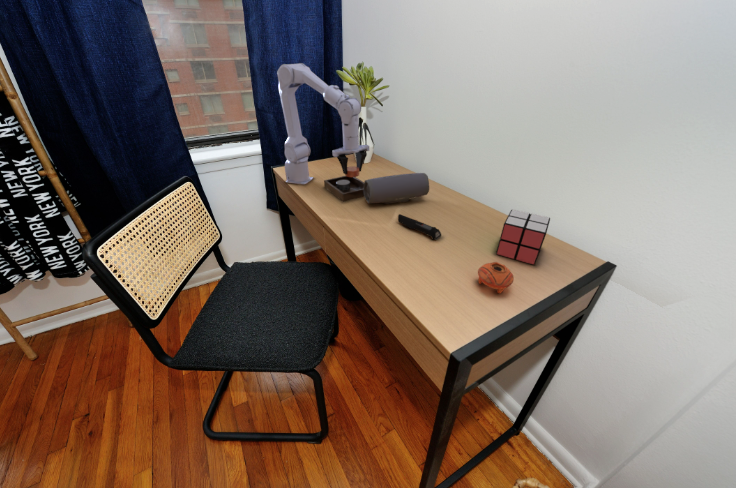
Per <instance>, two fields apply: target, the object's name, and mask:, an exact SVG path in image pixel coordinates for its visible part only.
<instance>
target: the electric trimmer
mask: <svg viewBox="0 0 736 488" xmlns="http://www.w3.org/2000/svg"><path fill="white" fill-rule="evenodd" d="M397 221H398V222H399V223H400V224H402V225H403V226H405V227H407V228H408V229H410V230H416V231H418V232H419V233H420V232H421V233H422V234H425V235H426V236H429V237H431V239H432V240H433V241H434V240H435V241H437V240H439V239H440V238H441V237H442V232H441V230H440V229H439V228H437V227H436V226H432V225H429V224H426V223H424V222H422V221H419V220H417V219H414V218H412V217H408V216H407V215H404V214H400V213H399V214H398V215H397Z"/></svg>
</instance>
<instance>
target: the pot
mask: <svg viewBox="0 0 736 488" xmlns="http://www.w3.org/2000/svg"><path fill="white" fill-rule="evenodd" d="M477 275H478V281H477V282H478V283H479V285H481V284H482V283H483V284H484V285H485V286H487V287H489V288H490V289H495V290H496V291H497V294H502V293H503V291H504V290H505V289H506V288H508V287H510V286H512V284H513V283H514V281H515V277H514V275H513V272H512V271H511V270H510V268H508V267H507V266H506V265H505V264H502V263H500V262H497V261H493V262H487V263H484V264H482V265H481V266H480V267H479V268H478V270H477Z"/></svg>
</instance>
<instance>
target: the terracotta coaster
mask: <svg viewBox="0 0 736 488" xmlns="http://www.w3.org/2000/svg"><path fill="white" fill-rule="evenodd" d="M344 176H347V177H356V178H358V177H359V176H360V172H359V168H358V167H357V166H354V165H353V166H347V174H346V175H345V174H344Z"/></svg>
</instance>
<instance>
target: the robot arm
mask: <svg viewBox="0 0 736 488" xmlns="http://www.w3.org/2000/svg"><path fill="white" fill-rule="evenodd" d="M276 74H277V79H278V93H279V97H280V103H281V107H282V112H283V118H284V123H285V128H286V132H287V139H286V141H285V142H284V157H285V159H286V161H285V163H284V172H285V179H286V180H285V183H289V184H296V185H306V184H308V183H309V182H310V181H312V180H313V179H314V177H313V176H310V170H309V169H310V168H309V160H308V159H309V156H310V155H311V147H310V145H309V144H308V139H307V138H306V137H305V136H303V133H302V128H301V122H300V116H299V112H298V104H297V100H296V95H295V94H296V92H297V90H298V89H299V87H300V86H302V85H303V84H306V85H307V86H309V87H310V88H312V89H313V90H315V91H316V92H318V93H320V94H321V95H322V96H323V100H324V101H325V102H326V103H328V104H329V105H330V106H332V107H333V108H334V109H336V110H337V112H338V115H339V116H340V119H341V125H342V145H343V146H342V147H339V148H336V149H333V150H332V152H331V153H332V156H333V157H334V158H337V159H338V162H339V164H340V166H341V169H342V173H343V174H344V176H345V175H346V174H347V167H348V161H349V157H347V155H350V154H351V155H352V154H354V155H355V163H356V167H358V168H359V173H360V172H362V169H363V164H364V161H365V160H366V157H367V156H368V153H367V152H369V151H370V145H368V144H360V133H359V132H360V131H359V130H360V129H359V128H360V126H359V124H360V123H359V115H360V114H361V111H362V105H361V102H360V100H359V99H358V98H357V97H351V96H350V95H349V94H348V93H347V94H346V93H344V92H343V91H342V90H341V89H340V87H339V86H338V85H333V84H331V85H328V84H327V83H326V82H325V81H323V80H322V79H321V78H320V77H319V76H317V75H316V74H315V73H314V72H313V71H311V68H310V67H309V66H307V65H306V64H304V63H302V62H299V63H289V64H285V63H283V64H281V65H280V66H279V68H278V70H277V71H276Z"/></svg>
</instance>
